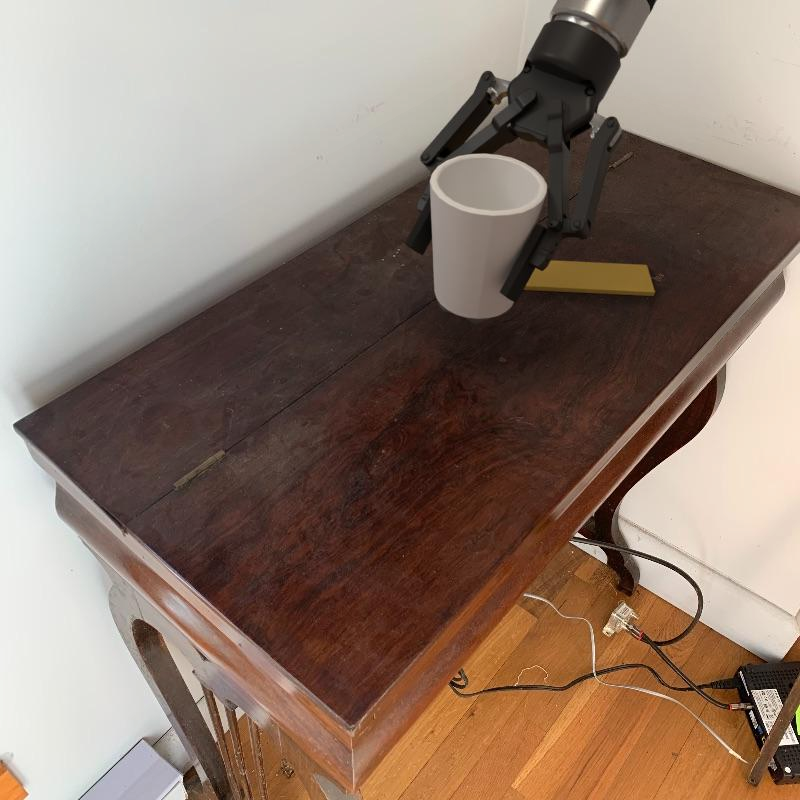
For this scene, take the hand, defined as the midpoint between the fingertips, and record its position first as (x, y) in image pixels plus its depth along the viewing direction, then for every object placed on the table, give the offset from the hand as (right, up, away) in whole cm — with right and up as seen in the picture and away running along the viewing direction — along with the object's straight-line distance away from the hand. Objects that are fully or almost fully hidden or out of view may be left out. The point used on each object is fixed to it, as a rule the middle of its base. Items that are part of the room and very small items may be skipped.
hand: (459, 273), depth 72 cm
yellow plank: (+12, +2, +18) cm, 22 cm away
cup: (+2, -2, +5) cm, 6 cm away
